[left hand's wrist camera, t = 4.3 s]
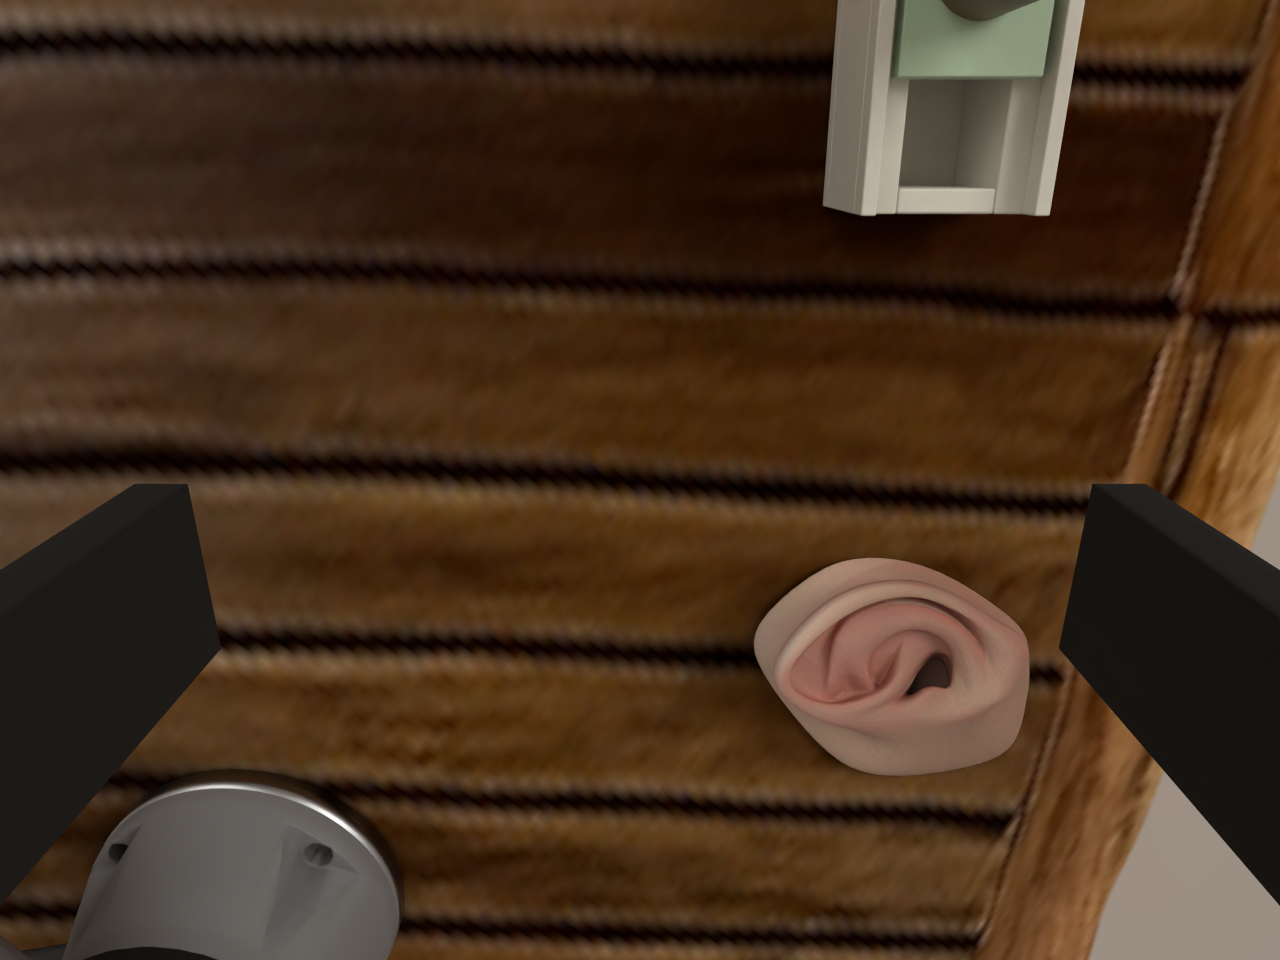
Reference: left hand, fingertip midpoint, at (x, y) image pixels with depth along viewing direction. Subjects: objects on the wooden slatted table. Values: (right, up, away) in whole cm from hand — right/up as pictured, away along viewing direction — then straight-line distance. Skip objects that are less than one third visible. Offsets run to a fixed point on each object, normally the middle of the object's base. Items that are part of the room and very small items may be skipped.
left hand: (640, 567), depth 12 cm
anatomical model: (+12, -7, +27) cm, 31 cm away
